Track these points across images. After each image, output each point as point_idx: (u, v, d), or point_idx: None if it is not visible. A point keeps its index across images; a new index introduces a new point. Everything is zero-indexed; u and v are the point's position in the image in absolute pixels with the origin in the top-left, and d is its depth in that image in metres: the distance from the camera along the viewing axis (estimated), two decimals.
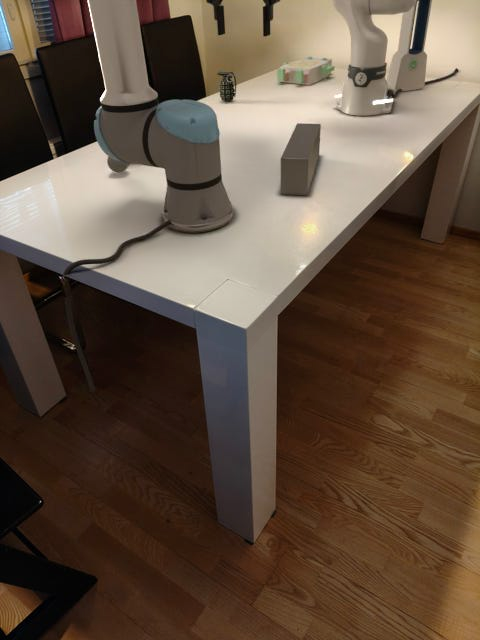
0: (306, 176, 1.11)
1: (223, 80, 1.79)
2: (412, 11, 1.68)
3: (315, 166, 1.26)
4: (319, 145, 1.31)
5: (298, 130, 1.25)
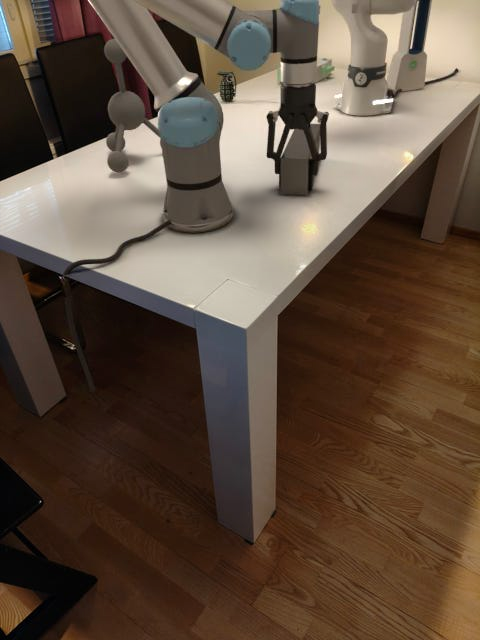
0: (306, 176, 1.11)
1: (223, 80, 1.79)
2: (412, 11, 1.68)
3: None
4: (319, 145, 1.31)
5: (298, 130, 1.25)
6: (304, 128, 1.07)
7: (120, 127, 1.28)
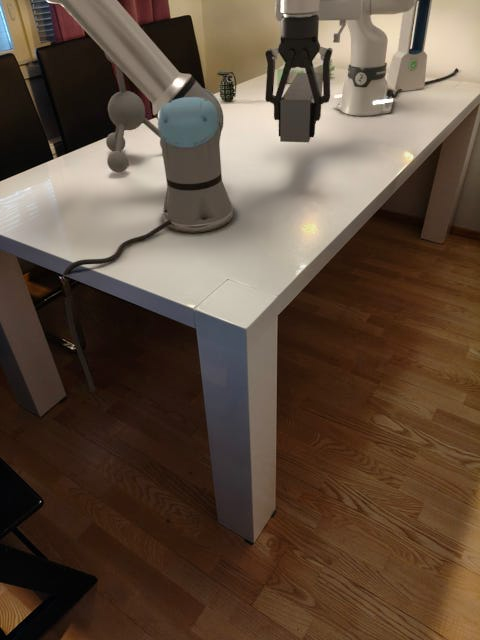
0: (308, 120, 1.03)
1: (223, 80, 1.79)
2: (412, 11, 1.68)
3: None
4: None
5: (299, 78, 1.17)
6: (306, 66, 0.99)
7: (120, 127, 1.28)
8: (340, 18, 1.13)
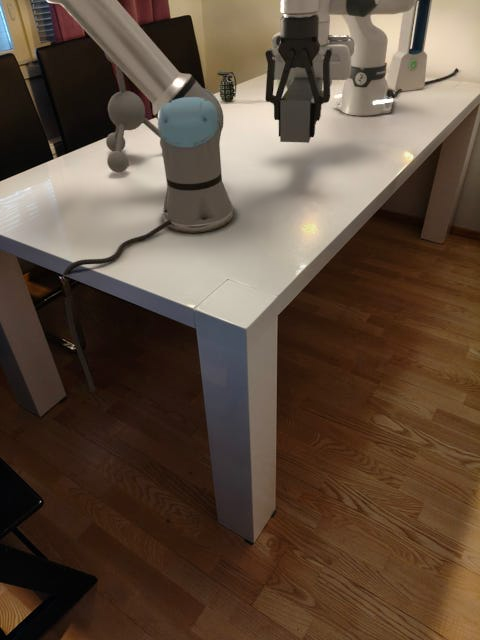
0: (308, 120, 1.03)
1: (223, 80, 1.79)
2: (412, 11, 1.68)
3: None
4: None
5: (299, 78, 1.17)
6: (306, 66, 0.99)
7: (120, 127, 1.28)
8: None
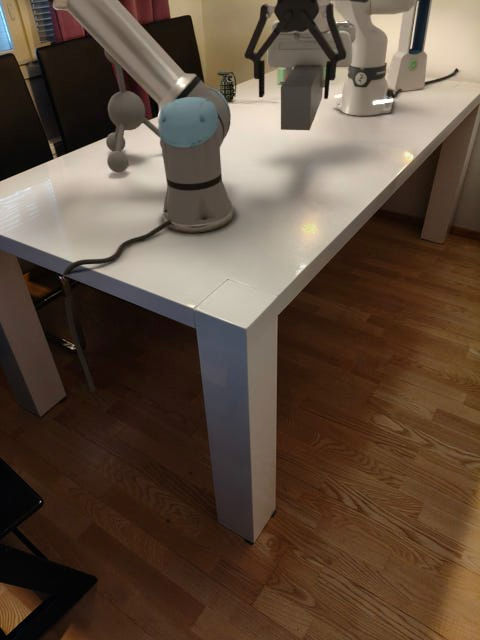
0: (308, 107, 1.02)
1: (223, 80, 1.79)
2: (412, 11, 1.68)
3: (318, 105, 1.17)
4: None
5: (300, 65, 1.16)
6: (309, 27, 0.93)
7: (120, 127, 1.28)
8: None
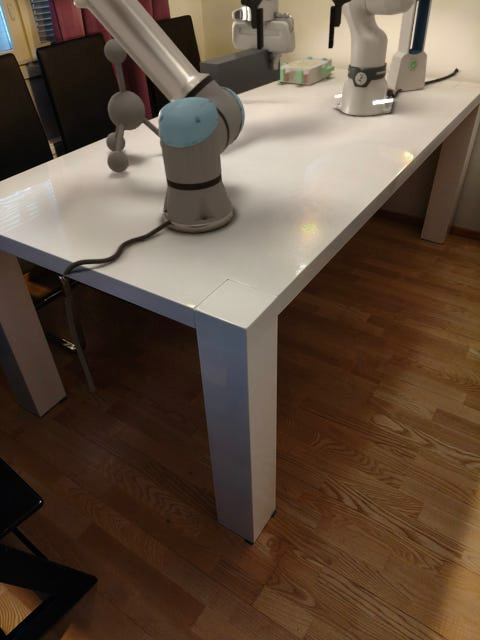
0: (217, 81, 1.26)
1: None
2: (412, 11, 1.68)
3: (260, 84, 1.38)
4: (279, 68, 1.41)
5: (252, 49, 1.37)
6: None
7: (120, 127, 1.28)
8: (274, 51, 1.34)
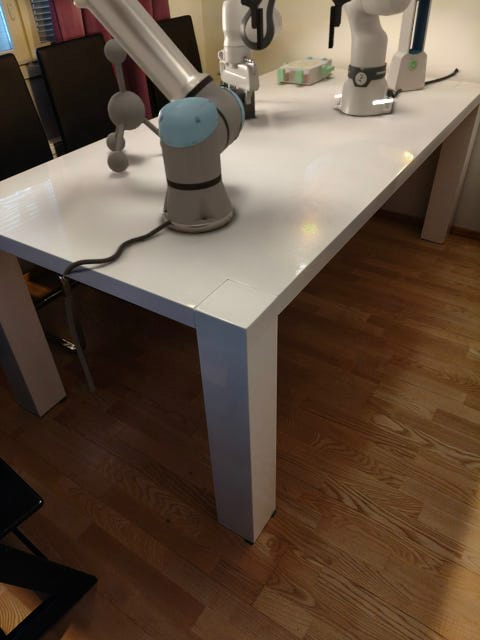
0: None
1: None
2: (412, 11, 1.68)
3: None
4: (253, 108, 1.64)
5: None
6: None
7: (120, 127, 1.28)
8: (243, 88, 1.56)
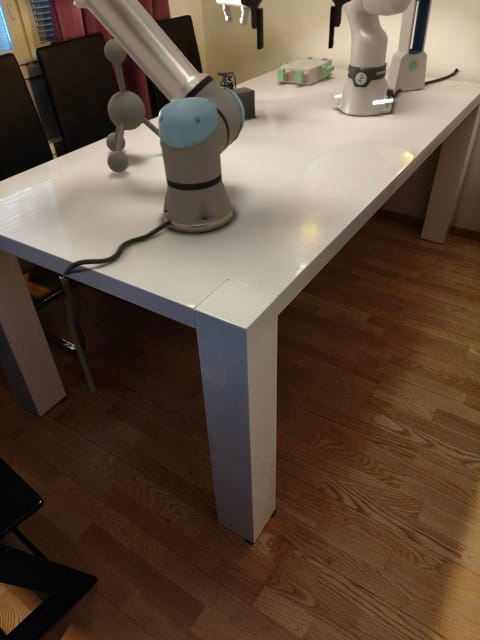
0: None
1: (223, 80, 1.79)
2: (412, 11, 1.68)
3: None
4: (253, 108, 1.64)
5: None
6: None
7: (120, 127, 1.28)
8: (239, 5, 1.42)
